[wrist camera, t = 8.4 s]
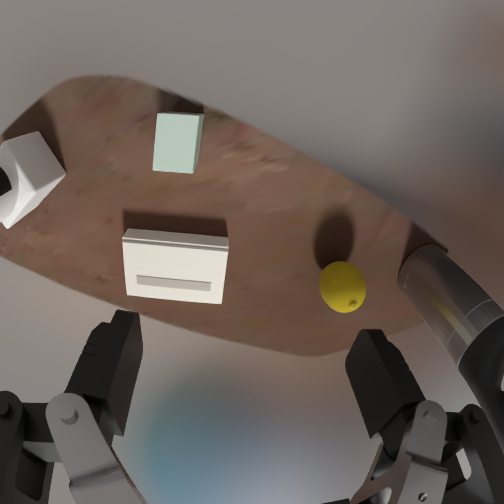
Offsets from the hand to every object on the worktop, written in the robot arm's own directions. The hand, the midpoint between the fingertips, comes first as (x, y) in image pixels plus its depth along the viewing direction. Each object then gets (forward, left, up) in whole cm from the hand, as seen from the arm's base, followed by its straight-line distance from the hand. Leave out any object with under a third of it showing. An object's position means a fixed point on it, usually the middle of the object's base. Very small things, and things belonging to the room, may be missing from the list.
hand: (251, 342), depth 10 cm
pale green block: (+5, -4, -23) cm, 24 cm away
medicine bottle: (+24, 0, -24) cm, 34 cm away
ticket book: (+5, +11, -23) cm, 27 cm away
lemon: (-15, +10, -24) cm, 30 cm away
